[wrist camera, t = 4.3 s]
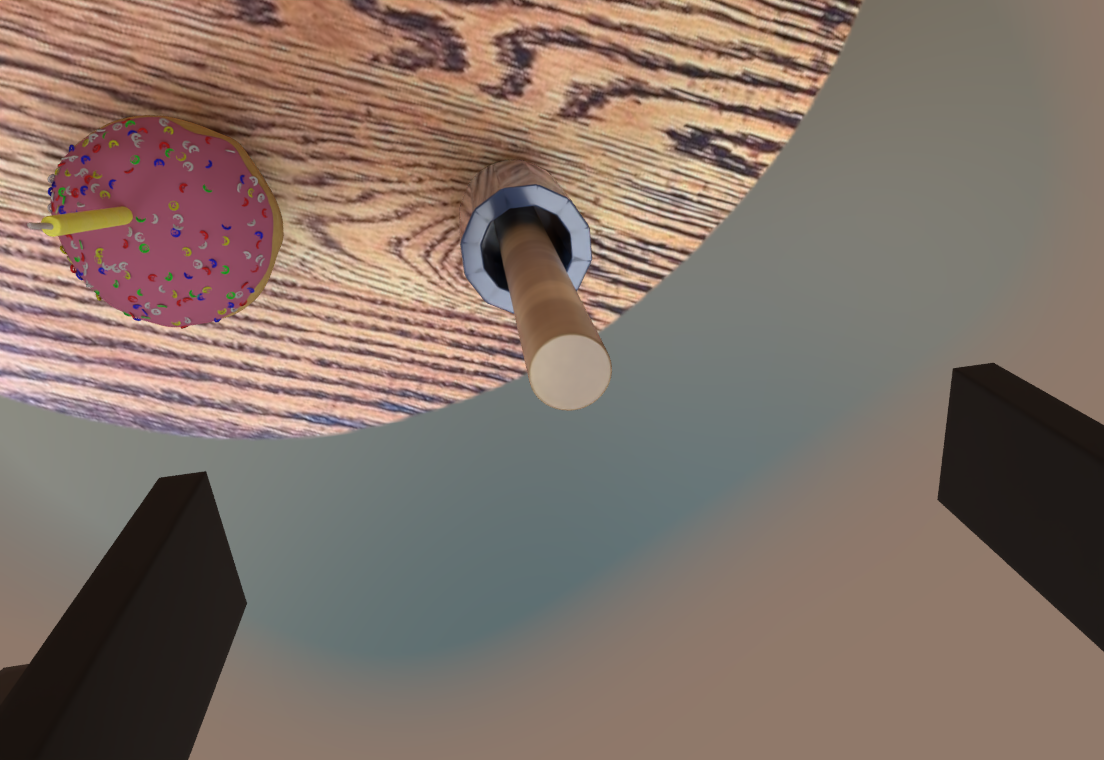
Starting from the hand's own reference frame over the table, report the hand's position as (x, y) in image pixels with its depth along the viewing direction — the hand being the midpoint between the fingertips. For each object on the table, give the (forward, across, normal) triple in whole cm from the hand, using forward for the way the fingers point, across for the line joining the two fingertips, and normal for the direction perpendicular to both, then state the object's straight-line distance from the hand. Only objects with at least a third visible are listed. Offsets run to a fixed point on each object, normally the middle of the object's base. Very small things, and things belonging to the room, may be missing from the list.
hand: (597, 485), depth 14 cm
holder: (+26, 0, 0) cm, 26 cm away
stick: (+25, 0, 0) cm, 25 cm away
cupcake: (+26, -14, +2) cm, 29 cm away
